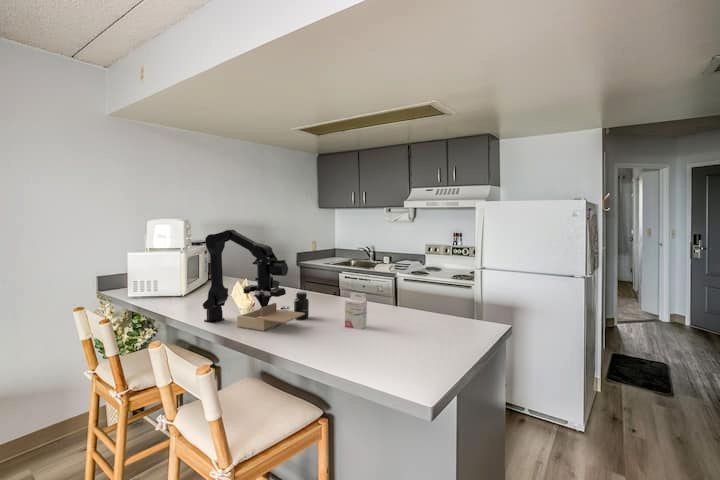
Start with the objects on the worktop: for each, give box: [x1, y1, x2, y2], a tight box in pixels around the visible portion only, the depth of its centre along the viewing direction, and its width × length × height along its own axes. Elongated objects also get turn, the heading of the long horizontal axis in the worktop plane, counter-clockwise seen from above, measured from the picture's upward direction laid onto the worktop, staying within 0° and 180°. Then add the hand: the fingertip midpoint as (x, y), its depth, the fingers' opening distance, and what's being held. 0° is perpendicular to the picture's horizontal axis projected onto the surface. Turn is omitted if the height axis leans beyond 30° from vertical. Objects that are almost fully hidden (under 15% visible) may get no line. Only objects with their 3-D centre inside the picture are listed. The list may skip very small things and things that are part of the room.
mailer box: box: [236, 308, 283, 333], centre depth 164 cm, size 14×14×5 cm
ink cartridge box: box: [344, 291, 368, 330], centre depth 162 cm, size 9×5×15 cm, turn 65°
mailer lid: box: [256, 302, 305, 324], centre depth 160 cm, size 15×15×4 cm
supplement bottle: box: [293, 291, 310, 321], centre depth 176 cm, size 7×7×12 cm
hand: (264, 310), depth 163 cm, fingers closed
